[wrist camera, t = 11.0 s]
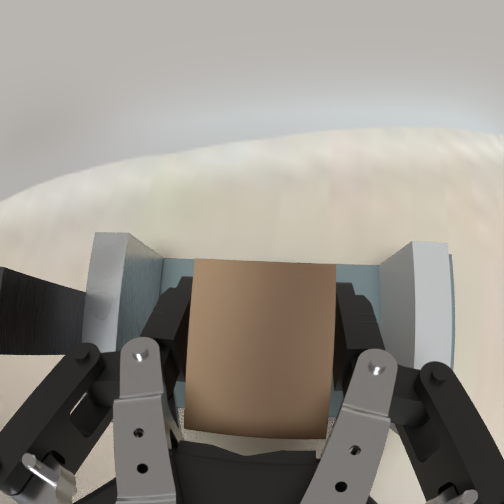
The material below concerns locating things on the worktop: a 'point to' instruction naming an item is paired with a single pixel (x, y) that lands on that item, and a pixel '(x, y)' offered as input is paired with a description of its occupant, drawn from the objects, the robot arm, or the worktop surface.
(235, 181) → the worktop surface
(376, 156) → the worktop surface
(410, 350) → the vise
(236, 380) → the block
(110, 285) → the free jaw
